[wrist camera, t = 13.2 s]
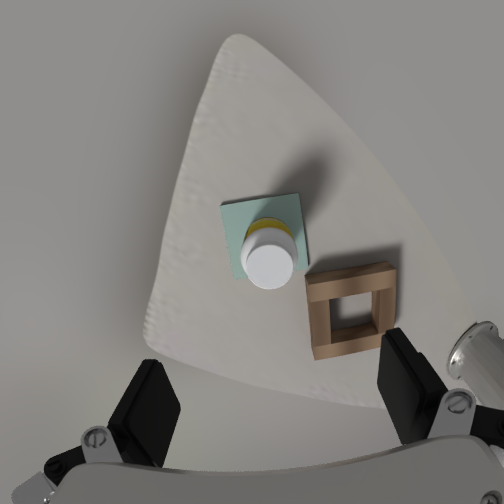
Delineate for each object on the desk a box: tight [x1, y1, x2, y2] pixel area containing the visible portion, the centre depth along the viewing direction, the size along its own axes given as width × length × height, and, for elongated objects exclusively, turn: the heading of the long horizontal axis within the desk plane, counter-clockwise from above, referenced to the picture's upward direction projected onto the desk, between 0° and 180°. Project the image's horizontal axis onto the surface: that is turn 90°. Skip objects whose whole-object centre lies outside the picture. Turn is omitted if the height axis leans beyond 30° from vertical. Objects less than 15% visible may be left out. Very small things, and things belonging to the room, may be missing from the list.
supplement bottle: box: [240, 216, 298, 289], centre depth 28 cm, size 5×5×10 cm
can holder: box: [305, 261, 397, 360], centre depth 34 cm, size 11×11×3 cm
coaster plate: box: [220, 193, 308, 280], centre depth 33 cm, size 9×9×1 cm
